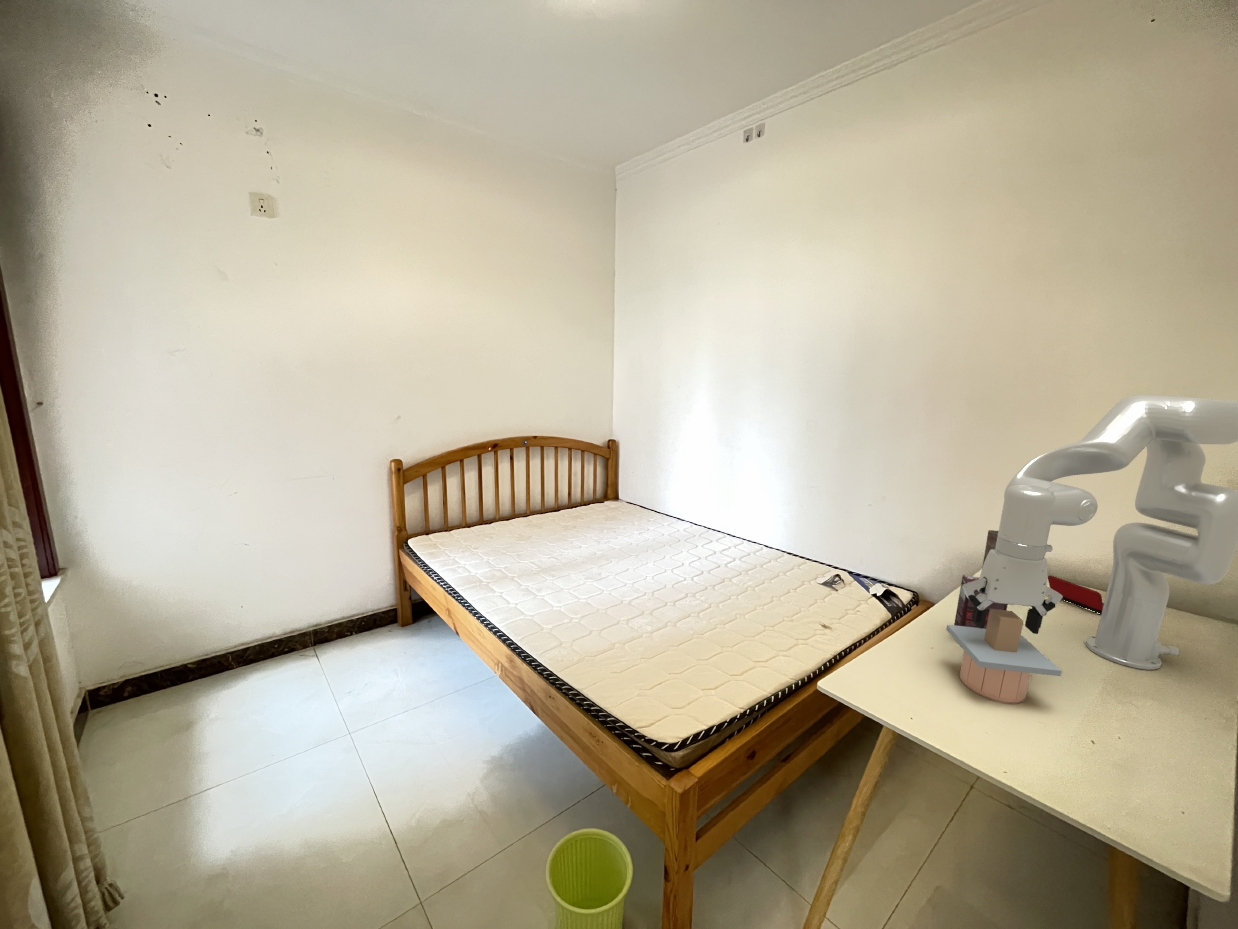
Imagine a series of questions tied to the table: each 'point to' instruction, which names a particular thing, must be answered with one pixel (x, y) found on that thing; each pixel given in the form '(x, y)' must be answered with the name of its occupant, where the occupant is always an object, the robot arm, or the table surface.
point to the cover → (1002, 645)
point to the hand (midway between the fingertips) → (1004, 627)
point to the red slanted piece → (1077, 594)
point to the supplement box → (971, 606)
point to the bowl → (994, 682)
